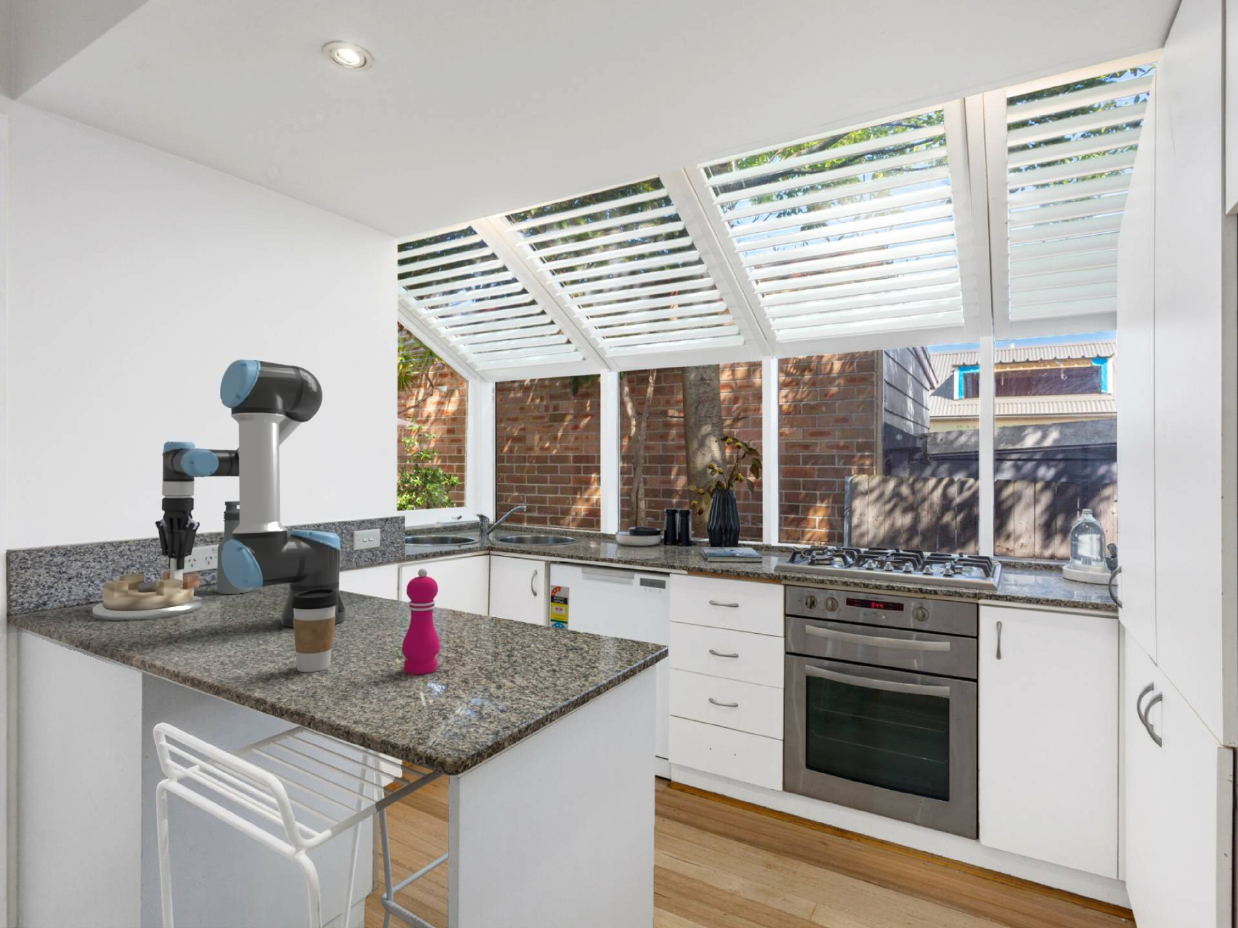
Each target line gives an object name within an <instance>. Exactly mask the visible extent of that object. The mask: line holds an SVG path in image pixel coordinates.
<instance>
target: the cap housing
mask: <svg viewBox="0 0 1238 928" xmlns="http://www.w3.org/2000/svg"><path fill="white" fill-rule="evenodd" d="M202 607H203V598H202V597H200V596H197V595H196V596H195V595H194V599H193V600H192V601H190V602H188V603H184V604H180V605H175V606H169V607H162V608H153V609H140V610H114V609H107V608H104V607H103V602H101V603H98V604H96V605H94V606H93V607H92V618H94V619H97V620H100V619H101V620H103V621H109V620H110V621H112V622H114V621H115V620H116V621H115V622H120V620H132V621H140V620H139V619H147V620H156V619H155V618H157V619H163V618H171V617H170V616H172V617H176V616H177V617H178V616H181V614H183V615H187V614H190V613H189V612H191V613H193V612H197V611H198V610H200V609H202ZM196 610H197V611H196ZM113 620H114V621H113ZM118 620H119V621H118Z"/></svg>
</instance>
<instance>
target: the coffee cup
mask: <svg viewBox="0 0 1238 928" xmlns="http://www.w3.org/2000/svg"><path fill="white" fill-rule="evenodd" d="M337 601H338V600H337V595H336V590H334V589H327V588H322V589H314V590H309V591H305V592H300V593H297V594H295V595H294V596H293V601H292V603H291V604H292V606H291V607H292V608H294V617H293V625H294V627H293V634H294V635H293V636H294V647H295V648H294V649H295V657H296V659H295V660H296V670H297V671H298V672H302V673H313V672H320V671H324V670H328V669H329V668H330V666H331V656H332V648H333V641H334V634H335V625H336V624H335V617H336V615H335V606H336V605H337V604H338V603H337Z"/></svg>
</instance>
